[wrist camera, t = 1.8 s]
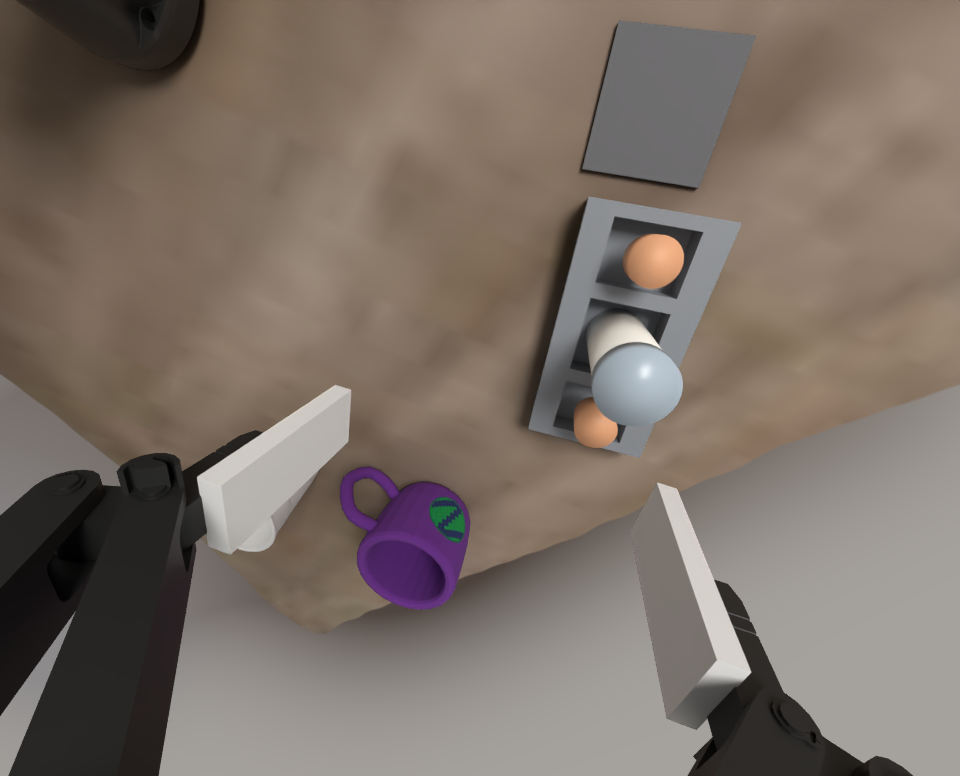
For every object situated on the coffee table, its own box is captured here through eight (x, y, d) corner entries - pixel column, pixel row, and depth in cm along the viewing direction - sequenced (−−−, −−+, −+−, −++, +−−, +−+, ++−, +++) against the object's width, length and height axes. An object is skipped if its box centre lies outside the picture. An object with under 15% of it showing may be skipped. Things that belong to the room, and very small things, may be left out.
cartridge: (594, 301, 33) (607, 340, 22) (653, 313, 32) (697, 360, 21) (578, 355, 35) (582, 414, 24) (633, 367, 35) (663, 435, 24)
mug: (494, 519, 47) (476, 588, 38) (437, 555, 52) (410, 624, 43) (393, 425, 44) (349, 475, 35) (344, 472, 49) (294, 527, 40)
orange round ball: (579, 392, 34) (580, 407, 31) (619, 402, 33) (623, 417, 31) (569, 425, 35) (569, 442, 33) (606, 435, 35) (609, 452, 32)
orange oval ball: (631, 229, 28) (638, 230, 25) (680, 238, 27) (692, 240, 25) (616, 278, 29) (620, 283, 27) (662, 287, 29) (671, 293, 26)
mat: (618, 23, 26) (619, 20, 26) (753, 38, 25) (755, 35, 24) (582, 169, 30) (582, 168, 29) (697, 188, 29) (698, 188, 28)
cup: (346, 468, 49) (290, 530, 39) (307, 501, 53) (248, 564, 43) (290, 415, 47) (216, 465, 37) (254, 453, 51) (180, 507, 41)
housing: (587, 198, 31) (589, 196, 28) (726, 223, 29) (742, 222, 26) (530, 415, 40) (528, 429, 37) (634, 441, 38) (639, 457, 36)
